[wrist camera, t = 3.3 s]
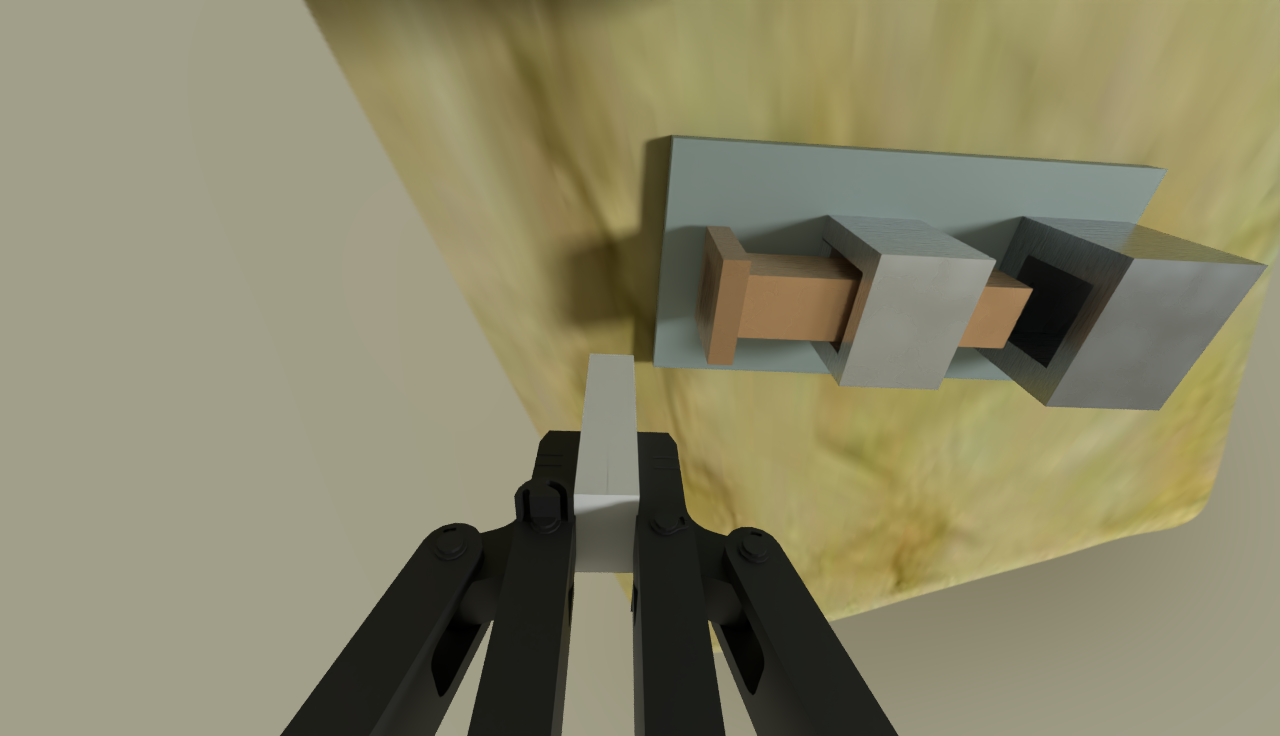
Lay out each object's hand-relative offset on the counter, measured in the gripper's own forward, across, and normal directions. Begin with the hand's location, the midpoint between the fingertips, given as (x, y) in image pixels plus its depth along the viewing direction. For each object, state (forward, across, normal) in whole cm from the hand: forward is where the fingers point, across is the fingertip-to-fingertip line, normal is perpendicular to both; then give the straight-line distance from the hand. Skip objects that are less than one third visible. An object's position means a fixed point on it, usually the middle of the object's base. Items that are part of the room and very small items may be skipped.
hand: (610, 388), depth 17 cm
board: (+13, +15, 0) cm, 20 cm away
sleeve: (+12, +14, 0) cm, 18 cm away
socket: (+12, +25, 0) cm, 27 cm away
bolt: (+11, +12, 0) cm, 16 cm away
